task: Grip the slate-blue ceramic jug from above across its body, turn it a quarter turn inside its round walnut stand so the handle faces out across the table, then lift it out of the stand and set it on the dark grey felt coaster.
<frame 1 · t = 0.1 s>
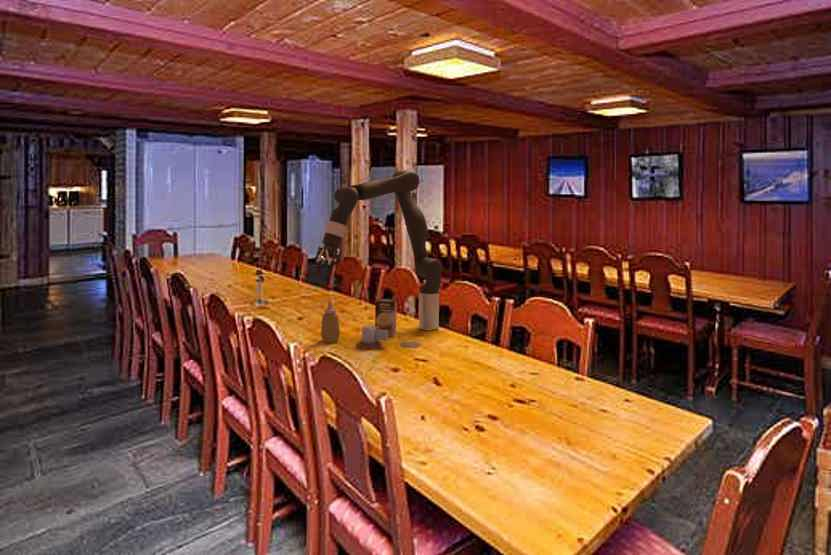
hand: (322, 273, 221), 31 cm above the table, tool tilted 20°, fingers open, 8 cm apart
coffee box: (385, 335, 249), on the table
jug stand: (369, 347, 229), on the table
jug: (369, 346, 229), point 1 cm above the table, touching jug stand
felt coaster: (410, 345, 232), on the table
squeeze bottle: (330, 343, 236), on the table
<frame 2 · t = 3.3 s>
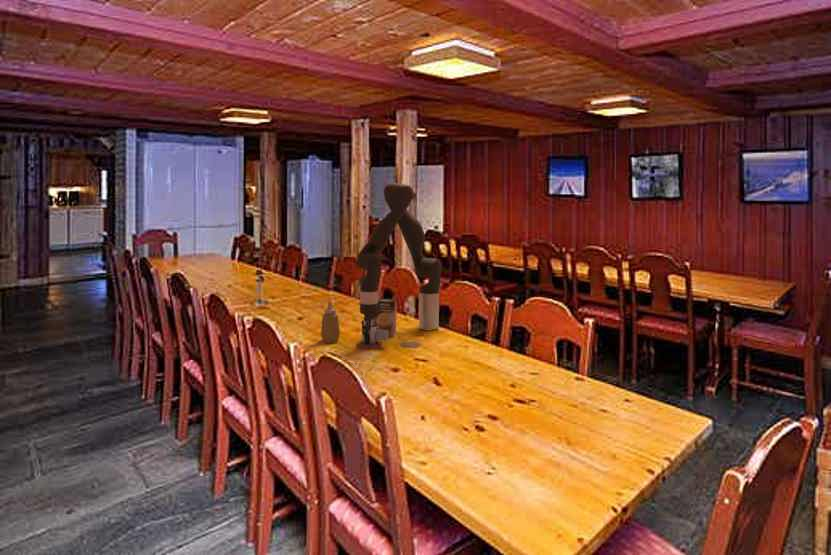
hand: (369, 341, 229), 3 cm above the table, tool pointing down, fingers closed on jug, 5 cm apart
jug: (369, 346, 229), point 1 cm above the table, touching gripper, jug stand
everything else where it was.
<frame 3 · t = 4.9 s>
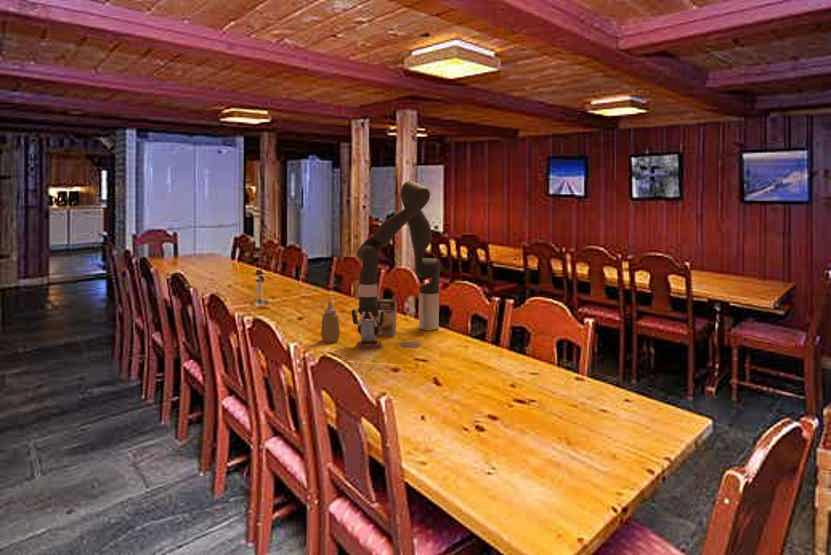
hand: (368, 334, 229), 5 cm above the table, tool pointing down, fingers closed on jug, 5 cm apart
jug: (368, 339, 229), point 3 cm above the table, touching gripper
everything else where it was.
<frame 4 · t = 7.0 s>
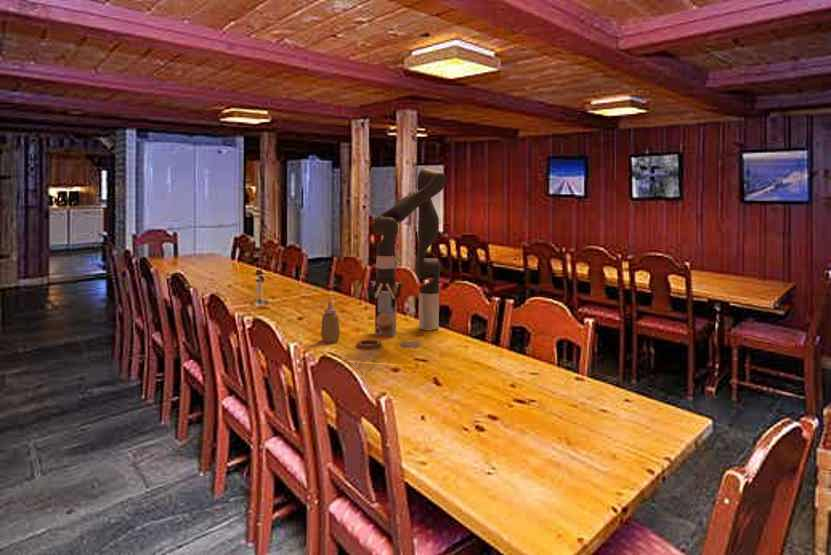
hand: (385, 306, 229), 17 cm above the table, tool pointing down, fingers closed on jug, 5 cm apart
jug: (385, 311, 229), point 15 cm above the table, touching gripper
everything else where it was.
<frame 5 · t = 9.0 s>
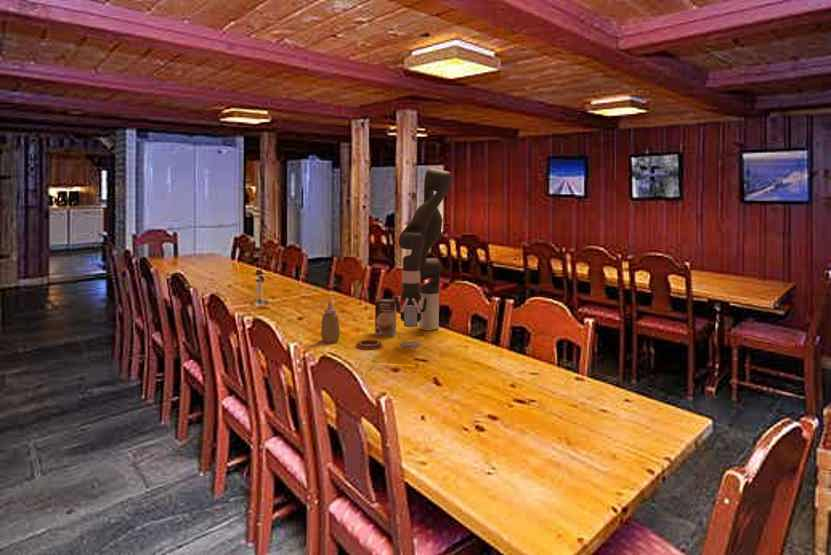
hand: (411, 321, 230), 11 cm above the table, tool pointing down, fingers closed on jug, 5 cm apart
jug: (410, 326, 230), point 9 cm above the table, touching gripper
everything else where it was.
when the fingers open (4 cm above the table, at t = 10.7 s): jug drops 1 cm, resting on felt coaster.
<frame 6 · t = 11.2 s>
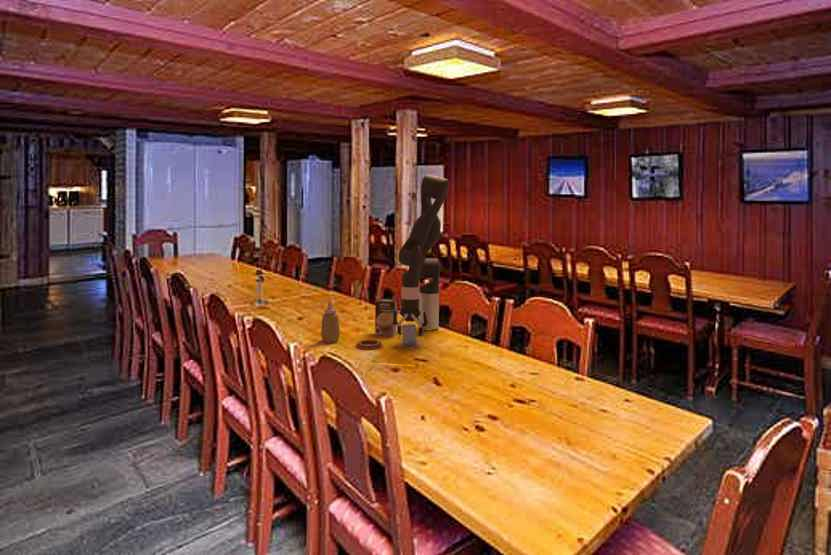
hand: (410, 335, 231), 5 cm above the table, tool pointing down, fingers open, 8 cm apart
jug: (409, 344, 232), point 1 cm above the table, touching felt coaster
everything else where it was.
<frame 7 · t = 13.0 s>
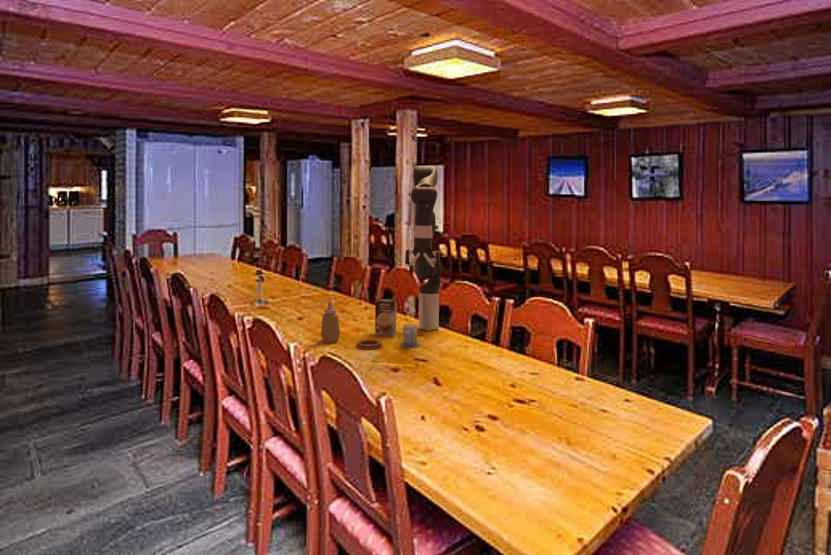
hand: (422, 275, 231), 29 cm above the table, tool pointing down, fingers open, 8 cm apart
nothing on the table moved.
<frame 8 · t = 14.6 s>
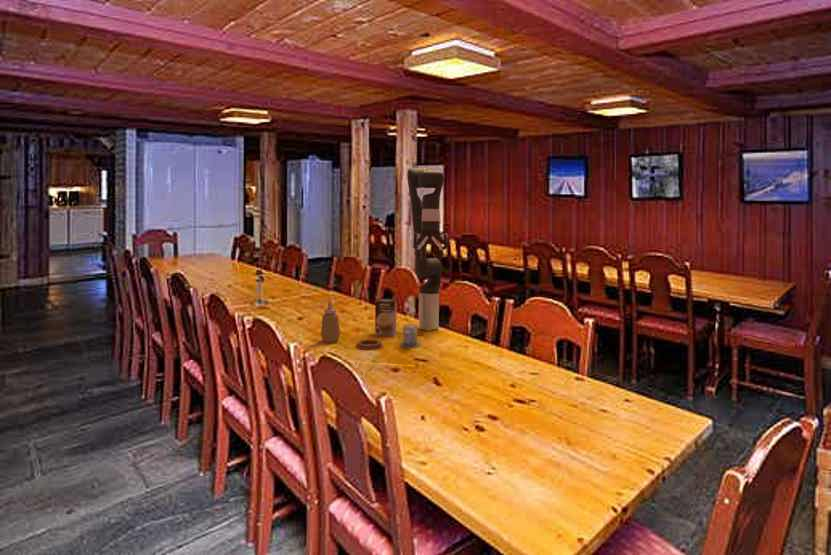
hand: (430, 258, 232), 36 cm above the table, tool pointing down, fingers open, 8 cm apart
nothing on the table moved.
at the end: jug 0.2 cm from the felt coaster (horizontally); jug tilted 0°; jug point 0.6 cm above the table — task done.
